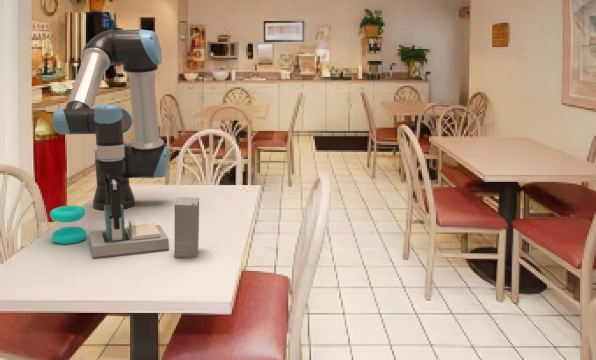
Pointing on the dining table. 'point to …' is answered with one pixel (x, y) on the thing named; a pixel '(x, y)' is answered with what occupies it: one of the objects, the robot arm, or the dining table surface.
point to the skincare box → (186, 227)
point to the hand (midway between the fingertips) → (115, 234)
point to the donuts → (68, 233)
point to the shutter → (142, 230)
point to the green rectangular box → (108, 224)
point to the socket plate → (126, 244)
